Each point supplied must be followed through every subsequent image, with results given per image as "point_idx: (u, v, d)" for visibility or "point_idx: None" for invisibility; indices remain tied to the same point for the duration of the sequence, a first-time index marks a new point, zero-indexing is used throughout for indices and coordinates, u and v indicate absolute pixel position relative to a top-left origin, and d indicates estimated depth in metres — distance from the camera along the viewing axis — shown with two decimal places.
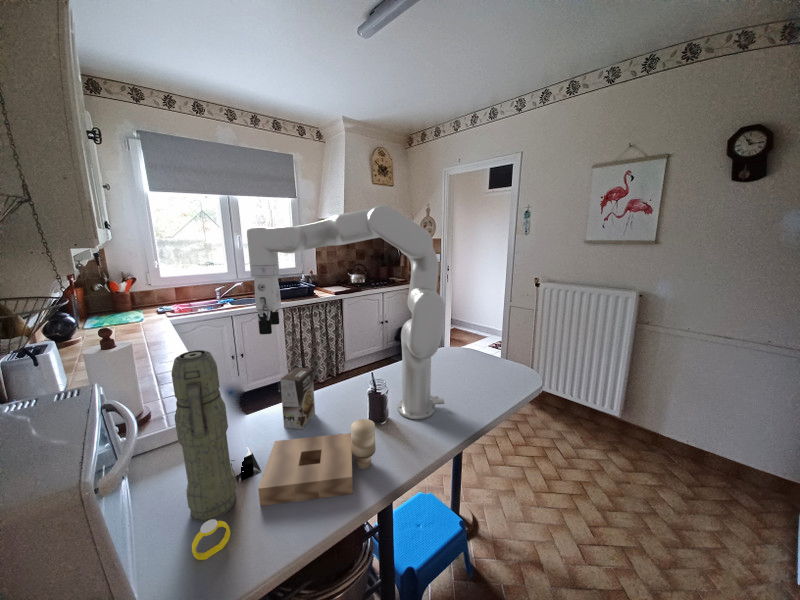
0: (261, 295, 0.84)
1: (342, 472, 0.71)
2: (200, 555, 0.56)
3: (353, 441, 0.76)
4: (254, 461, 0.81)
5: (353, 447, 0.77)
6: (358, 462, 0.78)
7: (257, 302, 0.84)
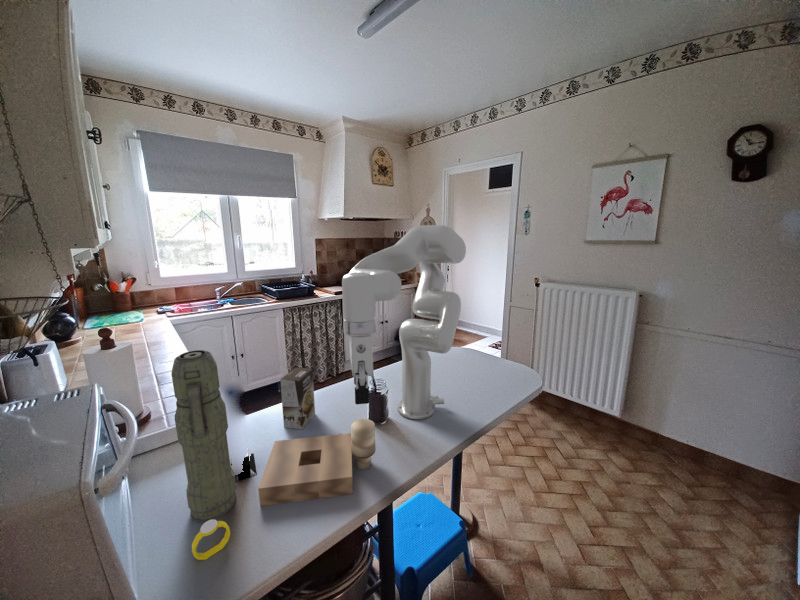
0: (360, 358, 0.69)
1: (342, 472, 0.71)
2: (200, 555, 0.56)
3: (353, 441, 0.76)
4: (253, 462, 0.80)
5: (353, 447, 0.77)
6: (358, 462, 0.78)
7: (355, 366, 0.69)
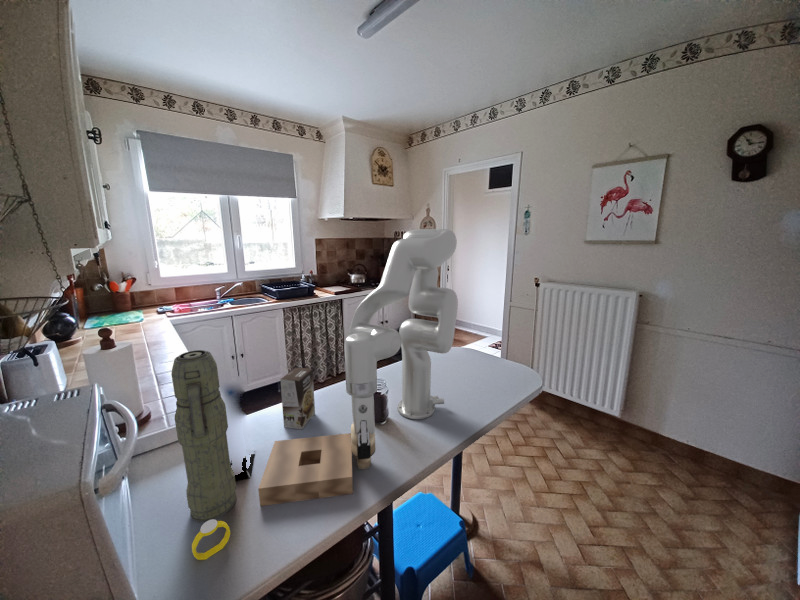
0: (362, 418, 0.72)
1: (342, 472, 0.71)
2: (200, 555, 0.56)
3: (353, 441, 0.76)
4: (251, 464, 0.80)
5: (353, 447, 0.77)
6: (358, 462, 0.78)
7: (357, 426, 0.72)
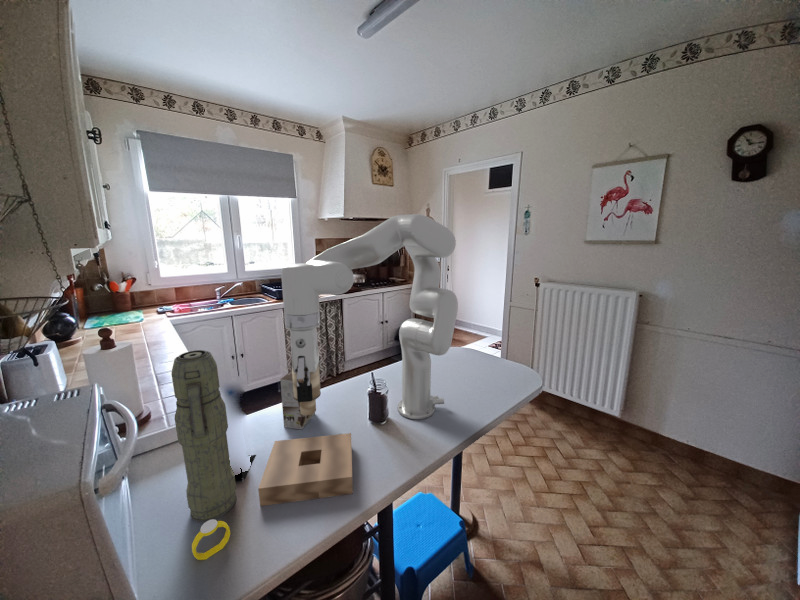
0: (300, 353, 0.65)
1: (342, 472, 0.71)
2: (200, 555, 0.56)
3: (294, 383, 0.70)
4: None
5: (294, 390, 0.70)
6: (301, 407, 0.72)
7: (294, 362, 0.65)
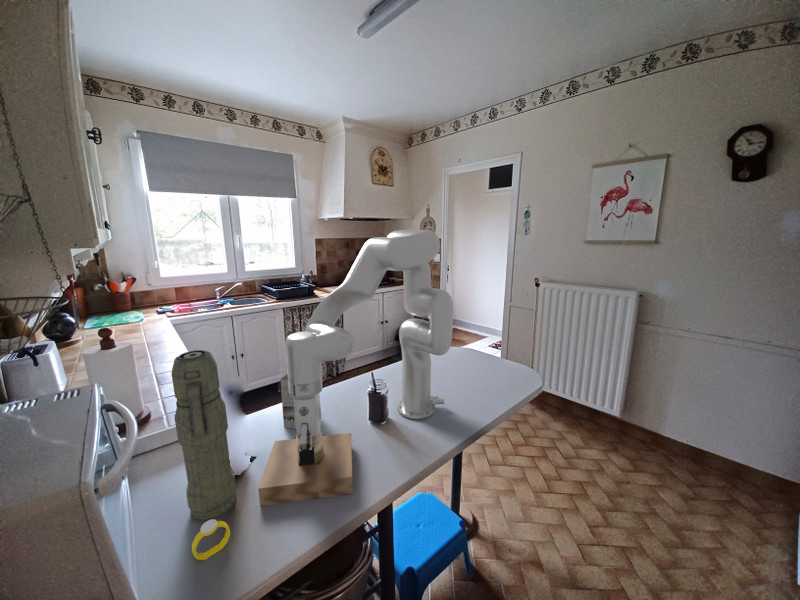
0: (303, 420, 0.68)
1: (342, 472, 0.71)
2: (200, 555, 0.56)
3: (298, 448, 0.73)
4: None
5: (298, 454, 0.74)
6: None
7: (298, 429, 0.69)
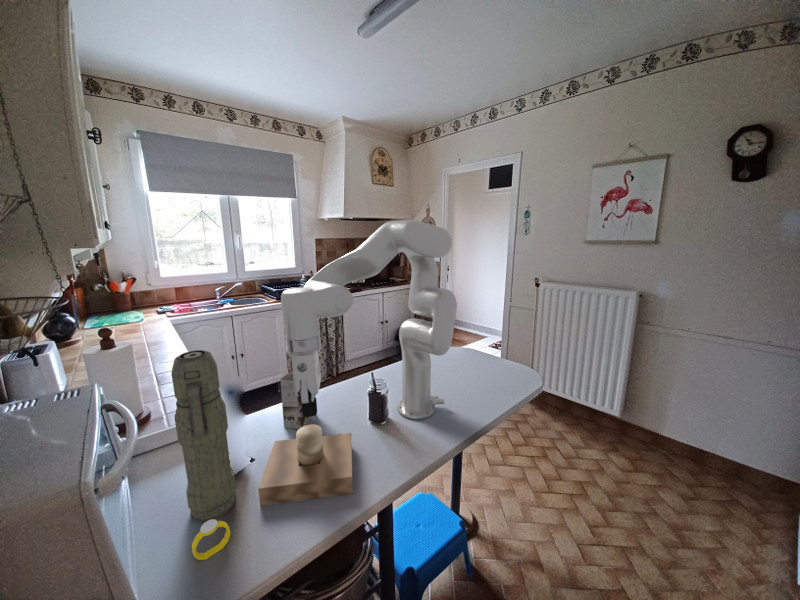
0: (301, 377, 0.67)
1: (342, 472, 0.71)
2: (200, 555, 0.56)
3: (298, 448, 0.73)
4: None
5: (298, 454, 0.74)
6: None
7: (296, 386, 0.67)
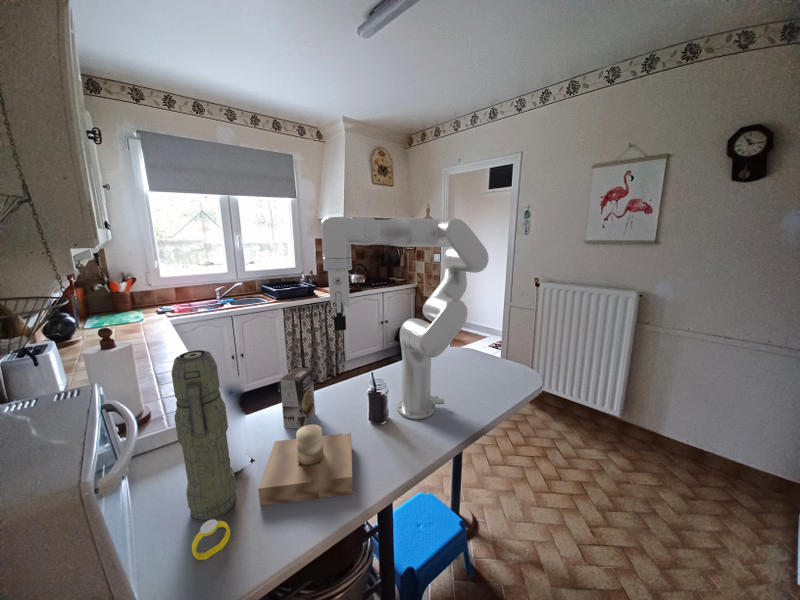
0: (337, 289, 0.80)
1: (342, 472, 0.71)
2: (200, 555, 0.56)
3: (298, 448, 0.73)
4: None
5: (298, 454, 0.74)
6: None
7: (332, 297, 0.80)
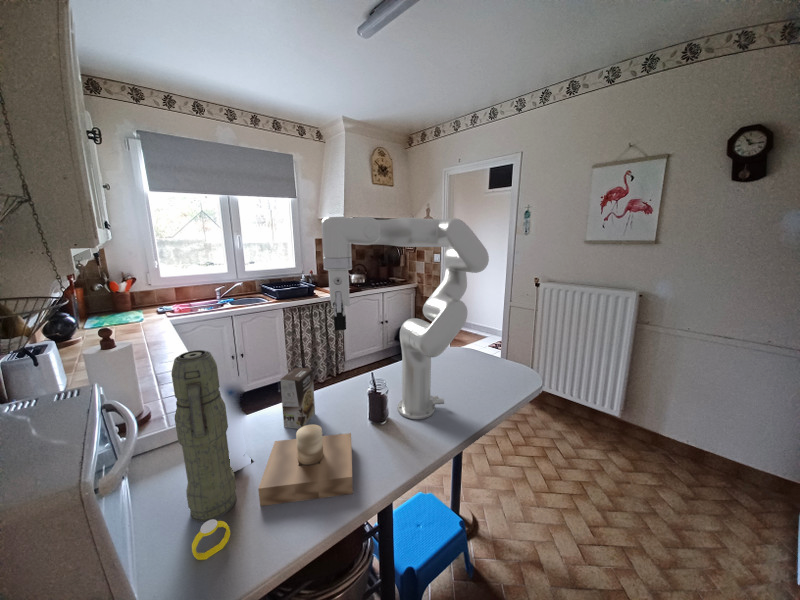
0: (337, 289, 0.80)
1: (342, 472, 0.71)
2: (200, 555, 0.56)
3: (298, 448, 0.73)
4: None
5: (298, 454, 0.74)
6: None
7: (332, 296, 0.80)
